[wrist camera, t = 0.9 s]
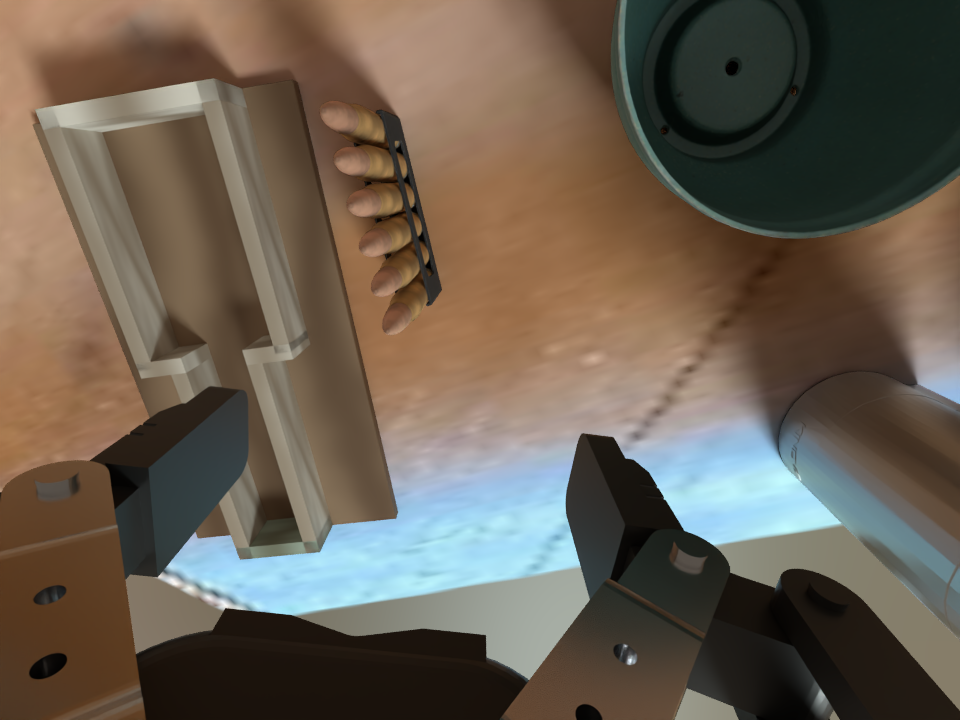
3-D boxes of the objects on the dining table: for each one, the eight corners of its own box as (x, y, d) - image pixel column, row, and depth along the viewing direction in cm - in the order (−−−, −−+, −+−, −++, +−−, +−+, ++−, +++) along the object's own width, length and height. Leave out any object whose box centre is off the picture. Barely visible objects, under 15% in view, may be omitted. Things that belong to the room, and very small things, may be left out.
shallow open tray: (297, 82, 29) (269, 68, 26) (398, 511, 39) (387, 545, 35) (44, 125, 30) (-17, 118, 27) (203, 531, 40) (175, 565, 37)
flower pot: (582, 233, 31) (622, 259, 21) (568, -83, 26) (614, -251, 16) (849, 203, 30) (1027, 215, 20) (892, -132, 25) (1164, -348, 15)
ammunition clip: (369, 123, 30) (291, 88, 18) (399, 116, 30) (338, 76, 18) (415, 296, 33) (373, 356, 22) (442, 290, 33) (414, 348, 22)
